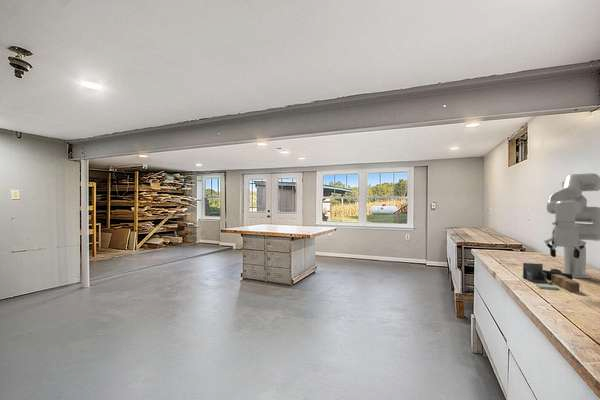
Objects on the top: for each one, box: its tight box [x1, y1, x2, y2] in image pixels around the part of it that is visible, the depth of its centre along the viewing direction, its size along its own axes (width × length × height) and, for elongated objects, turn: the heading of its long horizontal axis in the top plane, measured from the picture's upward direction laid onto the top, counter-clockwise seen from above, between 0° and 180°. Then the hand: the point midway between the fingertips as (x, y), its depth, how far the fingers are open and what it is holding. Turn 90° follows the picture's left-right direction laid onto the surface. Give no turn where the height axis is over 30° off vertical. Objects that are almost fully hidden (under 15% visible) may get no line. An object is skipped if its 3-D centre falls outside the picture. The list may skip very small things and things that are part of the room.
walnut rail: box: [550, 274, 580, 294], centre depth 149 cm, size 16×4×5 cm, turn 164°
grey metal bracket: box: [522, 262, 547, 284], centre depth 160 cm, size 7×9×9 cm
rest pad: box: [536, 283, 560, 291], centre depth 148 cm, size 4×8×1 cm, turn 72°
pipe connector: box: [543, 268, 574, 281], centre depth 164 cm, size 12×5×15 cm
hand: (564, 257), depth 148 cm, fingers open, 9 cm apart
